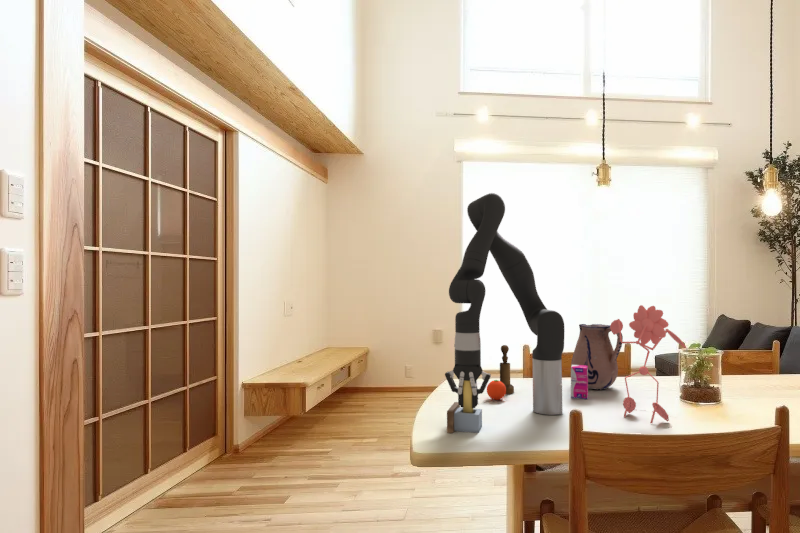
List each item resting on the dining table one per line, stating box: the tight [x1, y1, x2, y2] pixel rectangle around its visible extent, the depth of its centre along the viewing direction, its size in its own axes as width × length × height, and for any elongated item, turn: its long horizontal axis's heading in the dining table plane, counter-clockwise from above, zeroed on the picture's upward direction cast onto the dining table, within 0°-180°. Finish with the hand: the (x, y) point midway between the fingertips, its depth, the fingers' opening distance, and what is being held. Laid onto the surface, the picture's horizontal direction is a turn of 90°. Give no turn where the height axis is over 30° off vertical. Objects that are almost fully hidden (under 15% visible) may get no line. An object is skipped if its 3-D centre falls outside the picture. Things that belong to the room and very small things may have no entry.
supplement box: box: [570, 365, 589, 400], centre depth 193 cm, size 6×6×12 cm
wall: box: [446, 401, 461, 434], centre depth 155 cm, size 2×12×6 cm, turn 164°
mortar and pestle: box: [499, 344, 515, 395], centre depth 203 cm, size 7×6×18 cm
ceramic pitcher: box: [570, 323, 624, 390], centre depth 210 cm, size 18×21×25 cm
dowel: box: [463, 380, 474, 413], centre depth 154 cm, size 3×3×10 cm
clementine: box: [486, 379, 507, 401], centre depth 191 cm, size 8×7×7 cm
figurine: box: [609, 304, 687, 429], centre depth 165 cm, size 15×26×35 cm, turn 31°
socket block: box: [454, 407, 483, 434], centre depth 154 cm, size 7×7×5 cm
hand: (468, 407), depth 154 cm, fingers closed on dowel, 3 cm apart
